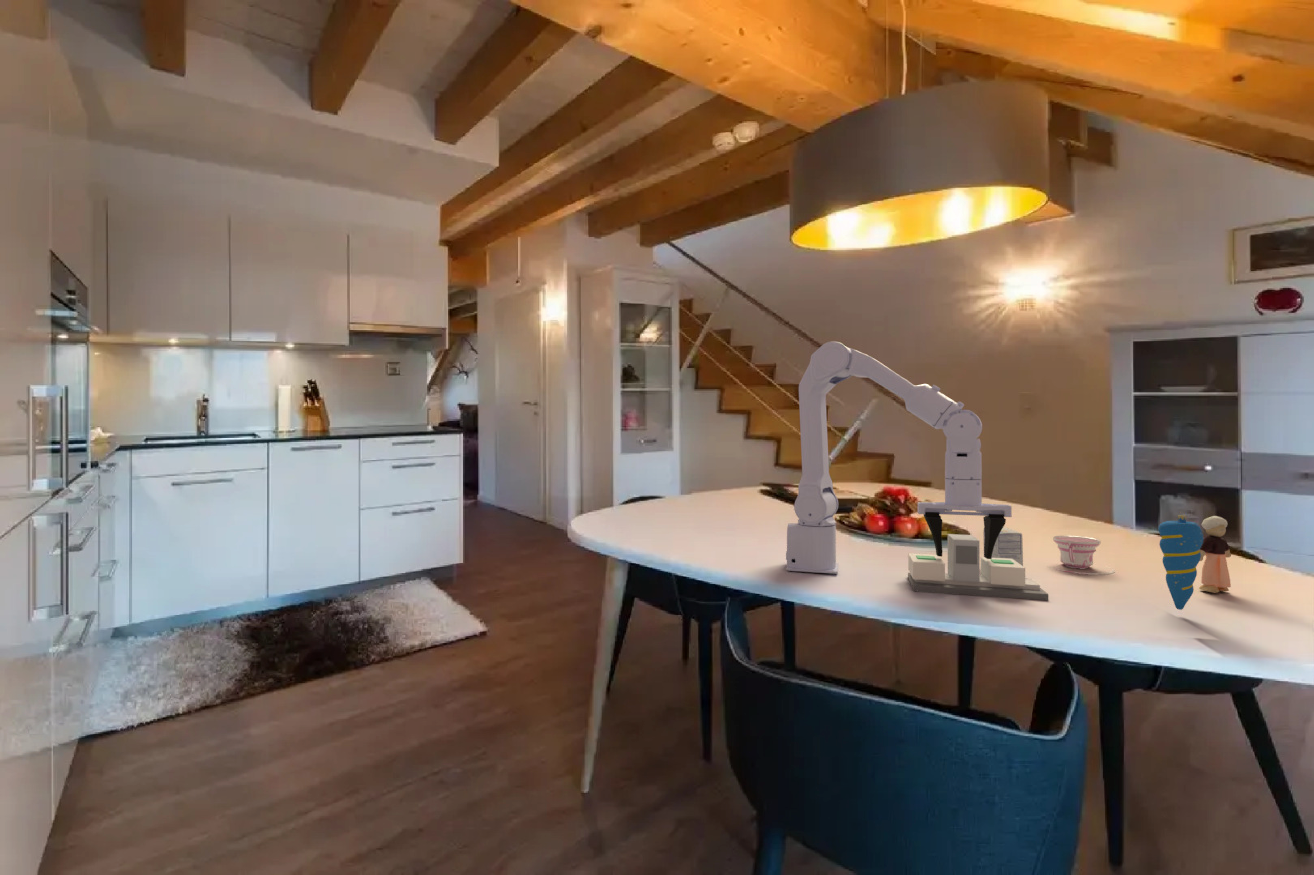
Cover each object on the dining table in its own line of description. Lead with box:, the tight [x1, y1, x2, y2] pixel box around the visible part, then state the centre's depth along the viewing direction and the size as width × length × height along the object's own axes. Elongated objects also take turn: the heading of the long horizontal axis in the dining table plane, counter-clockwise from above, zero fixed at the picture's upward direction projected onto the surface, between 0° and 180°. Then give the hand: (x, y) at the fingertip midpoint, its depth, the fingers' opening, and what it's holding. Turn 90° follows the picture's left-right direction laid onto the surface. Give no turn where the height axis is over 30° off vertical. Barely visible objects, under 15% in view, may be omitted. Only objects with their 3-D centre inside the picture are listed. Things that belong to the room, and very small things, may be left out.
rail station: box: [907, 552, 1049, 601], centre depth 104 cm, size 20×10×5 cm, turn 73°
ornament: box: [1158, 510, 1204, 611], centre depth 91 cm, size 5×5×15 cm
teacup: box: [1047, 534, 1116, 576], centre depth 119 cm, size 12×12×6 cm
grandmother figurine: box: [1198, 515, 1232, 593], centre depth 103 cm, size 8×4×13 cm, turn 117°
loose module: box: [947, 533, 981, 582], centre depth 104 cm, size 4×6×7 cm, turn 163°
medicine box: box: [983, 526, 1024, 567], centre depth 114 cm, size 8×4×9 cm, turn 168°
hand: (963, 556), depth 104 cm, fingers open, 7 cm apart
